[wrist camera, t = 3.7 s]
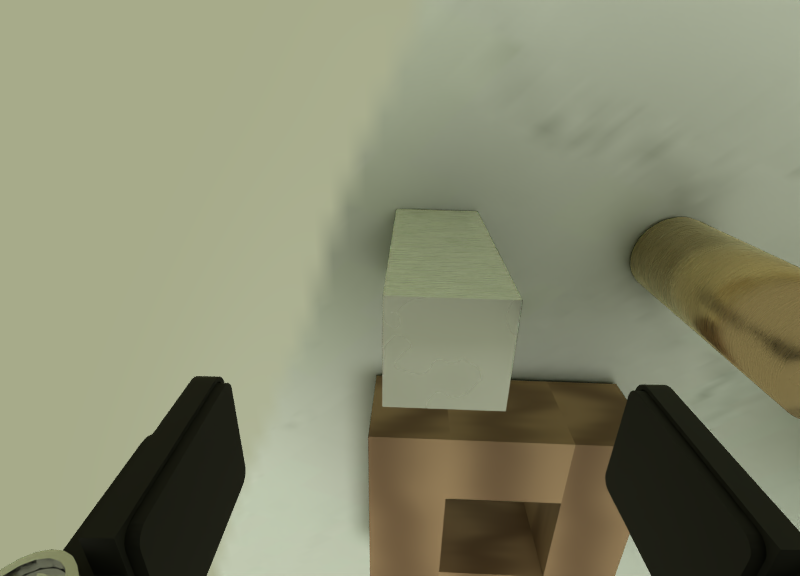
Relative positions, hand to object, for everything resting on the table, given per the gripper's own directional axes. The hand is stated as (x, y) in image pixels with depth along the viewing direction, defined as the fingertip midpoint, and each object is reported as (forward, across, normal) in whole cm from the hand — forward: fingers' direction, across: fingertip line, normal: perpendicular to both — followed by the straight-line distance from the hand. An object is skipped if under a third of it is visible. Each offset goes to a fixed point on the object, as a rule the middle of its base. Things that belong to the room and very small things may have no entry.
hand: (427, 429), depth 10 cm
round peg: (+13, -13, 0) cm, 18 cm away
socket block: (+13, -5, +15) cm, 21 cm away
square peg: (+13, -1, 0) cm, 13 cm away
